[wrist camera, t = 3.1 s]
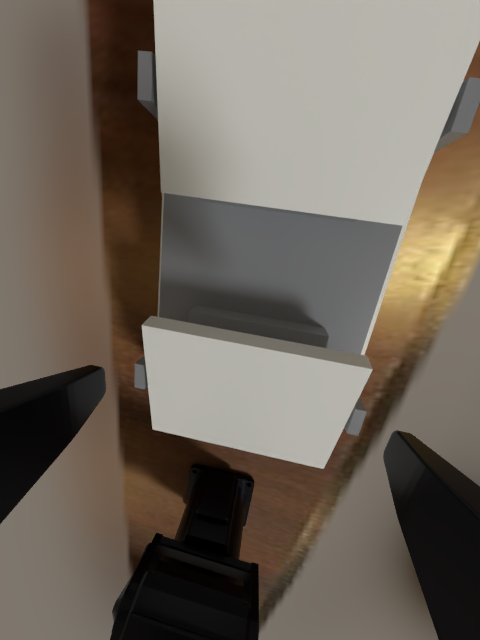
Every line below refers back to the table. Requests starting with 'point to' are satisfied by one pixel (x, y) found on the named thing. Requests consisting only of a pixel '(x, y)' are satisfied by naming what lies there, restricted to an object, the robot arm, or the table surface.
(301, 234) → the box
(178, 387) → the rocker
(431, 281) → the table surface
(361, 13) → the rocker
